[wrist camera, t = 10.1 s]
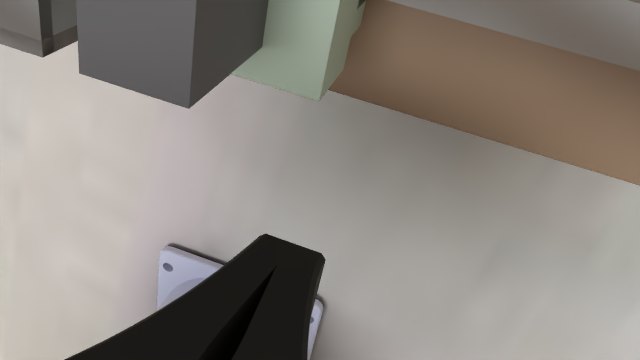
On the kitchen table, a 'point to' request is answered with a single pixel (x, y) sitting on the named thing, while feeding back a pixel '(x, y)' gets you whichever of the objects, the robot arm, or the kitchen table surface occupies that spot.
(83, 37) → the carriage
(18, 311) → the kitchen table surface
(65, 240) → the kitchen table surface
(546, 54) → the rail base
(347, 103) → the kitchen table surface
